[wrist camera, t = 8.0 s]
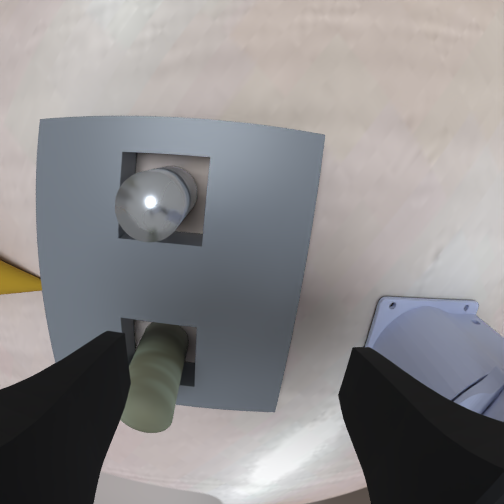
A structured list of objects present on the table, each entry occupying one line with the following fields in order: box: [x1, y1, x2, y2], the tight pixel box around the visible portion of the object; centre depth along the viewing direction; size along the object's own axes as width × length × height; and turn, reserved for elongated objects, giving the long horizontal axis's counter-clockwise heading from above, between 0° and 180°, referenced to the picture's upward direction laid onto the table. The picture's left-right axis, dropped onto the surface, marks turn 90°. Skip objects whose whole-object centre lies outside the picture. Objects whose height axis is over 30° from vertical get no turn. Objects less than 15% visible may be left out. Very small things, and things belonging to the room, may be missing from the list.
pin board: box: [36, 116, 325, 412], centre depth 18 cm, size 15×17×2 cm
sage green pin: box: [120, 322, 188, 433], centre depth 17 cm, size 3×3×7 cm
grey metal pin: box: [115, 166, 197, 242], centre depth 15 cm, size 3×3×5 cm
